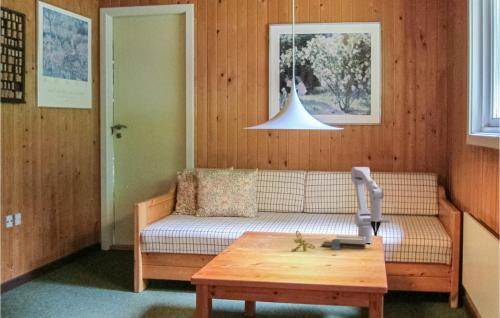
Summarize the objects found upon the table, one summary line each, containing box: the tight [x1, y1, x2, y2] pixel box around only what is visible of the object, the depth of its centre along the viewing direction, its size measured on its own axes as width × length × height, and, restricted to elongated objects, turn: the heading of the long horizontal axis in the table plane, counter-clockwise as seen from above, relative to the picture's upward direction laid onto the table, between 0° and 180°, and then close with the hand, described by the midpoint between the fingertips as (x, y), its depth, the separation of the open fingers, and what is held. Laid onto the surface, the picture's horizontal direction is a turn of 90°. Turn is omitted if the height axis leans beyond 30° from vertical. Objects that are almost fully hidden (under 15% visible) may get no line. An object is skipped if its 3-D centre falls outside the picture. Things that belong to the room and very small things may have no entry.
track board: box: [321, 240, 367, 250], centre depth 301 cm, size 12×23×1 cm, turn 76°
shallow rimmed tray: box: [334, 235, 366, 246], centre depth 300 cm, size 10×16×3 cm, turn 76°
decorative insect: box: [291, 230, 316, 252], centre depth 287 cm, size 13×3×10 cm
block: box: [331, 238, 341, 251], centre depth 292 cm, size 4×4×5 cm
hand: (375, 235), depth 297 cm, fingers closed
